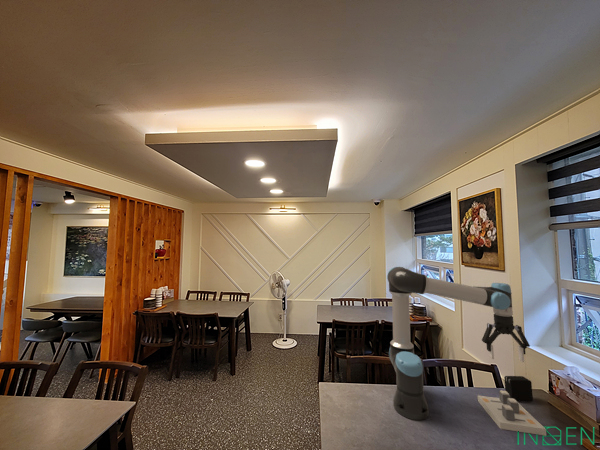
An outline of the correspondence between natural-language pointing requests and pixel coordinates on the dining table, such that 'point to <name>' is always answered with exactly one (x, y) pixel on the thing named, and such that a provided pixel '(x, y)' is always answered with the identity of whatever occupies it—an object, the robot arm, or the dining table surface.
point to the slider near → (508, 412)
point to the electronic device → (519, 388)
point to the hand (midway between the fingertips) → (506, 359)
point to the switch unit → (521, 423)
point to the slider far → (503, 396)
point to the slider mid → (513, 404)
